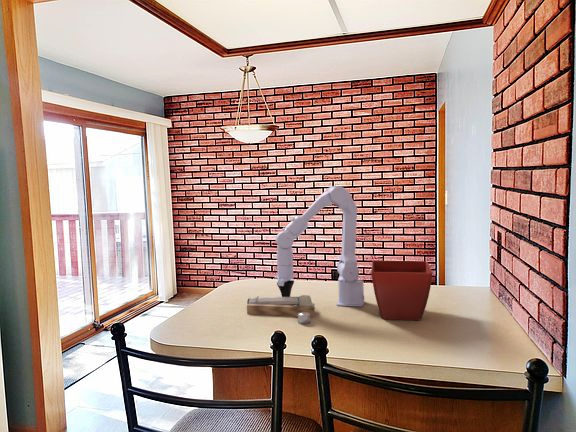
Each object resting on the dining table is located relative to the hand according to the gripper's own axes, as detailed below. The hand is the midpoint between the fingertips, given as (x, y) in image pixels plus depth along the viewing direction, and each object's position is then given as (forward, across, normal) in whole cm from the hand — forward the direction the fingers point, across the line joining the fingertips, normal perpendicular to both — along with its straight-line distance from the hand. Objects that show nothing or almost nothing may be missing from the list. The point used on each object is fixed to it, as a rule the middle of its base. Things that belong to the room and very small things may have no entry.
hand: (286, 300), depth 168 cm
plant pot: (+3, +3, +41) cm, 41 cm away
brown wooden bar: (+2, +9, 0) cm, 9 cm away
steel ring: (+2, +16, +10) cm, 19 cm away
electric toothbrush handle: (+3, +3, -1) cm, 5 cm away
